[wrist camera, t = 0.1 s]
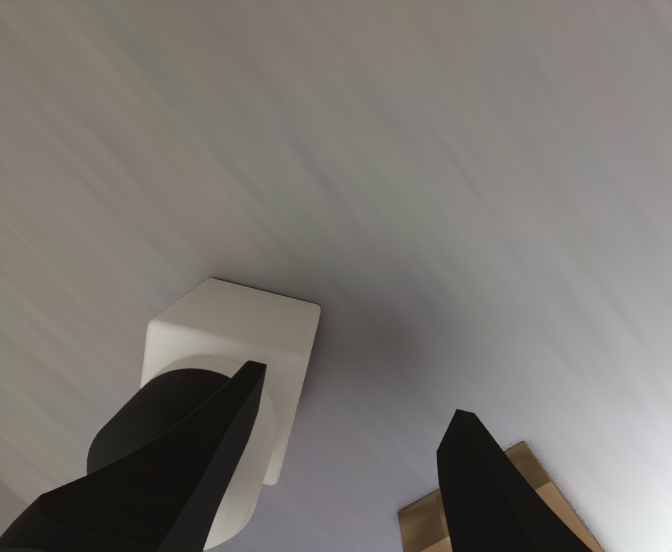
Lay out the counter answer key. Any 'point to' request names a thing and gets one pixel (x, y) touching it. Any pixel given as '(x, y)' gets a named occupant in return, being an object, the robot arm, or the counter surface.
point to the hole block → (430, 522)
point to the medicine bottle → (219, 383)
